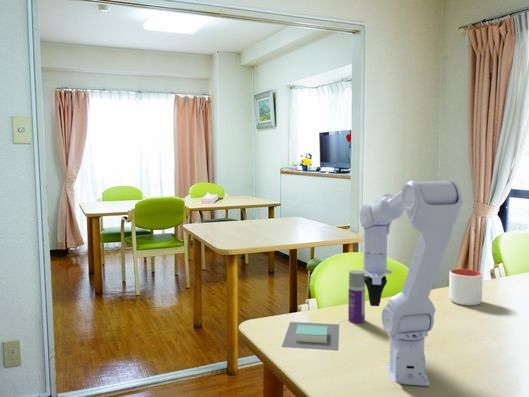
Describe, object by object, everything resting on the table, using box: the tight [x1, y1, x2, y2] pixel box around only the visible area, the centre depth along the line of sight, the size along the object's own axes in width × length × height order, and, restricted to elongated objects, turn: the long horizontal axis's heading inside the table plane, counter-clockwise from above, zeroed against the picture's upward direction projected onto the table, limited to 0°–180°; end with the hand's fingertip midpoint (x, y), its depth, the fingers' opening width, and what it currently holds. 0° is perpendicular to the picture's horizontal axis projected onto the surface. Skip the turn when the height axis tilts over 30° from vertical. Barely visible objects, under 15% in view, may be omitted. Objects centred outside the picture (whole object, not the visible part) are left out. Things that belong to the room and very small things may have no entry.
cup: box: [448, 268, 484, 307], centre depth 151 cm, size 10×10×10 cm
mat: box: [281, 321, 340, 351], centre depth 122 cm, size 18×14×1 cm
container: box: [347, 269, 366, 324], centre depth 132 cm, size 5×5×15 cm
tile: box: [295, 325, 327, 343], centre depth 120 cm, size 2×8×6 cm
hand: (374, 305), depth 115 cm, fingers closed
